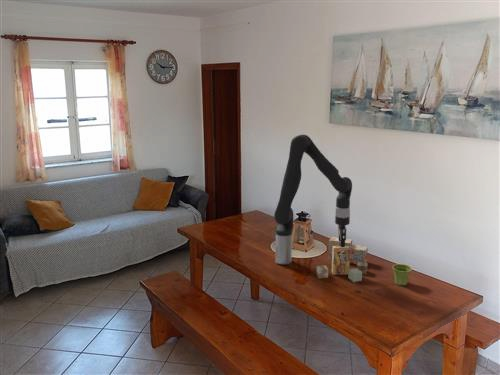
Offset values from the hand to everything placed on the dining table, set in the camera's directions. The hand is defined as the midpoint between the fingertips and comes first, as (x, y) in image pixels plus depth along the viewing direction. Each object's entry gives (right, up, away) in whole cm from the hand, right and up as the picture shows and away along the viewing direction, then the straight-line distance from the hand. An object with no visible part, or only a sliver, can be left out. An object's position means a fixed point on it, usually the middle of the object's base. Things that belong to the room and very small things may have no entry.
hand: (341, 243), depth 239 cm
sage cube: (+6, -18, -3) cm, 20 cm away
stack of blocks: (+8, -13, +21) cm, 26 cm away
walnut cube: (+12, -16, +5) cm, 21 cm away
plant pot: (+29, -20, -8) cm, 36 cm away
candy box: (0, -17, +4) cm, 17 cm away
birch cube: (-10, -18, +1) cm, 20 cm away
